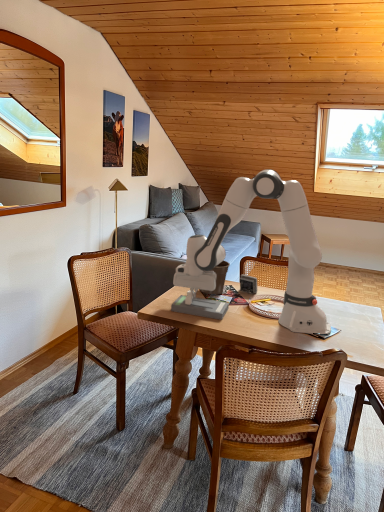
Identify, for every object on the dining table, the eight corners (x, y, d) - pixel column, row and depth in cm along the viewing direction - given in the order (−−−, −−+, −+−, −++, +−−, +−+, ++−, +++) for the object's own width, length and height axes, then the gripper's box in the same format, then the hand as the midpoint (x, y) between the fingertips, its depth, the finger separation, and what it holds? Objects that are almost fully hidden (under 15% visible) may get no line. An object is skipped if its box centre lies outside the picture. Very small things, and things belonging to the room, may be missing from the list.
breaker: (191, 302, 182) (192, 295, 181) (190, 304, 180) (190, 297, 179) (186, 302, 183) (187, 294, 182) (185, 303, 180) (185, 296, 179)
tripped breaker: (192, 298, 188) (193, 291, 187) (191, 300, 186) (191, 292, 185) (188, 297, 189) (188, 290, 188) (186, 299, 186) (186, 292, 185)
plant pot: (224, 287, 217) (227, 258, 213) (229, 297, 202) (232, 267, 198) (195, 285, 216) (197, 257, 212) (197, 296, 201) (199, 266, 196)
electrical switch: (257, 292, 212) (258, 276, 208) (253, 296, 207) (254, 279, 204) (241, 288, 216) (242, 273, 213) (237, 292, 212) (238, 276, 209)
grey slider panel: (228, 308, 187) (228, 302, 186) (221, 319, 174) (222, 313, 173) (180, 300, 193) (180, 294, 192) (170, 310, 180) (171, 304, 179)
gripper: (218, 269, 183) (216, 297, 186) (176, 264, 188) (175, 291, 192) (215, 273, 177) (213, 302, 181) (172, 268, 182) (171, 296, 186)
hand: (193, 296), depth 186 cm, fingers closed, pressing on tripped breaker
